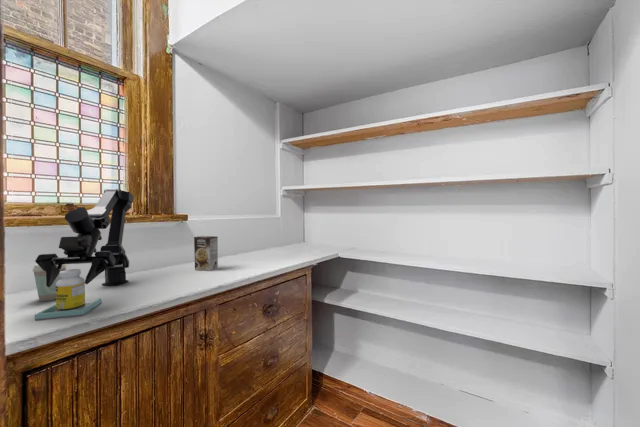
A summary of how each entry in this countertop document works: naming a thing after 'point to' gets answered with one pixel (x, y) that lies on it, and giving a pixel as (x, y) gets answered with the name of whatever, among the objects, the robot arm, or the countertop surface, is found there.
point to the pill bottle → (70, 291)
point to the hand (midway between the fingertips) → (67, 284)
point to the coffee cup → (40, 278)
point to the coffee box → (206, 253)
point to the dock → (53, 313)
